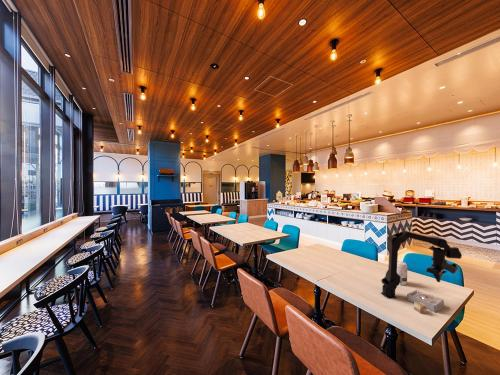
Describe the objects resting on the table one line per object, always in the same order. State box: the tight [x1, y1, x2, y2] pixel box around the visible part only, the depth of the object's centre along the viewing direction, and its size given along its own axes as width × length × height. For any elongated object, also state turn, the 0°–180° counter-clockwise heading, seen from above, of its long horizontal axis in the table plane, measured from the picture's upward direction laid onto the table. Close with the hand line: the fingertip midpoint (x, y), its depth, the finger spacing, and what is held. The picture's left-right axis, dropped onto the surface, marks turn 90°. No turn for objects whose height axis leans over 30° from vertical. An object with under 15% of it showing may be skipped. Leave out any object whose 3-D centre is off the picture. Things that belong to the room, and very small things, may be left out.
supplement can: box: [397, 260, 408, 286], centre depth 153 cm, size 8×8×15 cm
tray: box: [412, 289, 443, 305], centre depth 127 cm, size 12×12×4 cm
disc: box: [419, 294, 434, 303], centre depth 127 cm, size 7×7×2 cm
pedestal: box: [413, 302, 428, 314], centre depth 119 cm, size 4×4×4 cm
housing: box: [406, 289, 445, 313], centre depth 127 cm, size 12×14×4 cm
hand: (438, 281), depth 129 cm, fingers closed
